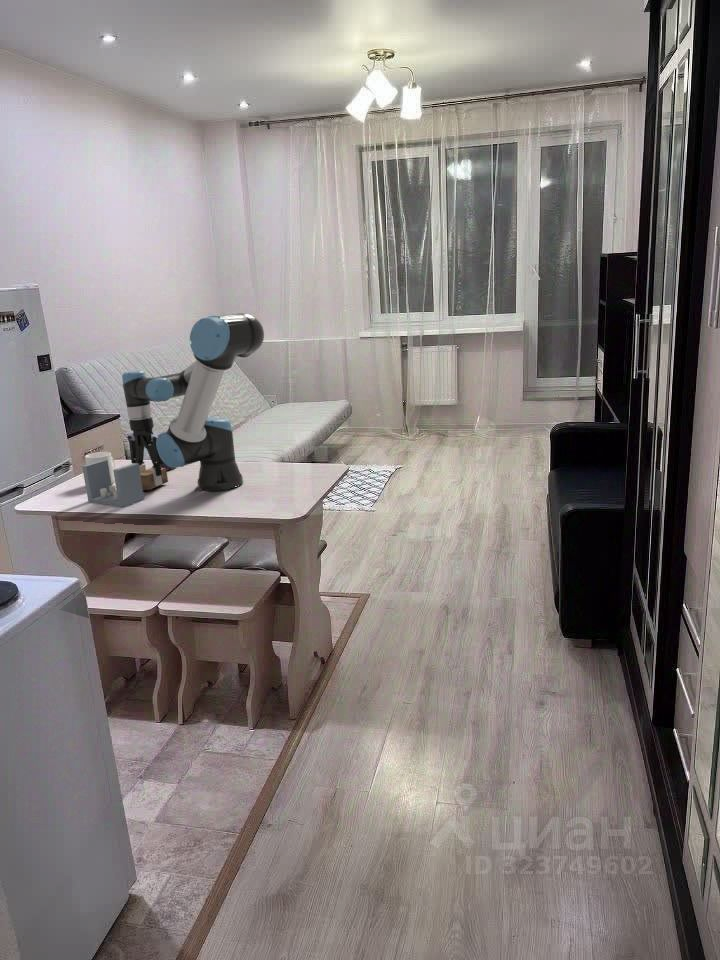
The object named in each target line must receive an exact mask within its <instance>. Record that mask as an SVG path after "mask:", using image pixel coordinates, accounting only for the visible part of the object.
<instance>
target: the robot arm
mask: <svg viewBox="0 0 720 960" xmlns="http://www.w3.org/2000/svg"><path fill="white" fill-rule="evenodd" d="M264 339H265V332H264V328H263V325H262V324H261V322H260V321H259V319H257V318H256V317H255V316H253V315H251V314H248V313H244V312H243V313H242V312H241V313H234V314H224V315H211V316H207V317H202V318H200V319H199V320H197V321H196V322H195V323H194V325H193V326H192V328H191V331H190V334H189V342H191V343H190V349H191V352H192V354H193V356H194V359H195V361H194V362H192V363H191V364H190V365H188V366H187V367H186V368H185V369H184V370H182V371H180V372H177V373H172V374H167V375H161V376H156V377H147V376H146V372H145V371H143V370H132V371H126V372H124V373H122V375H121V379H122V388H123V393H124V400H125V404H126V410H127V411H126V412H127V417H128V419H129V427H130V428H129V429H130V430H131V431H132V434H129V435H127V437H126V438H127V440H128V444H129V453H130V461H131V464H134V463H137V464H139V469H140V472H142V471H144V470H147V467H146V463H145V461H144V457H145V455H144V454H145V449H146V450H147V453H148V455H149V458H150V460H151V463H152V466H151V468H152V471H153V477H154V483H155V486H157V487H159V486H158V485H160V486H162V485H163V484H162V478H161V475H162V472H161V465H162V464H166V465H167V466H169V467H171V468H174V469H176V468H183V467H184V466H188V465H192V464H194V463H198V462H200V464H199V465H200V467H199V472H198V478H197V482H196V483H197V489H199V490H200V491H205V492H220V491H222V490H223V491H227V490H226V489H229V488H233V487H235V486H238V485H240V484H242V483H243V484H244V478H243V474H242V473H241V472H240V469H239V466H238V463H237V461H236V455H235V454H236V453H235V447H234V445H235V444H234V436H233V433H234V431H233V428H232V423H231V420H230V419H227V418H224V417H223V418H222V417H209V415H210V411H211V409H212V406H213V403H214V400H215V399H216V398H215V397H216V395H217V392H218V390H219V387H220V384H221V381H222V378H223V376H224V373H225V371H228V370H230V369H231V368H232V367H233V364H234V363H235V362H237V361H239V359H241V358H242V359H245V358H248V357H249V356H251V355H253V353H255V352H257V351H258V350H259V349H260V348H261V346H262V345H263V343H264ZM178 397H183V399H182V403H181V406H180V409H179V411H178V414H177V417H175V418H173V419H172V420H171V421H170V423H169V424H168V428H167V431H165V432H161V433H159V434H158V435H156V434H154V432H153V429H154V427H155V426H154V419H153V417H152V415H153V414H152V407H151V402H156V403H161V402H168V401H169V400H170V399H175V398H178ZM161 484H162V485H161ZM243 484H242V485H243ZM240 486H241V485H240ZM238 487H239V486H238ZM233 489H234V488H233ZM229 490H230V489H229Z"/></svg>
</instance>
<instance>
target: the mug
mask: <svg viewBox="0 0 720 960" xmlns="http://www.w3.org/2000/svg"><path fill="white" fill-rule="evenodd" d="M84 457H85V458H84V459H85V465H87V464H90V463H94V462H97V461H100V460H108V466H109V472H110V478H111V484H112V485H114V483H115V478H114V472H113V470H115V469H116V463H115V458H114V457H113V456H112V453H111V452H109V451H98V452H91V453H89V454H86V455H85V456H84Z"/></svg>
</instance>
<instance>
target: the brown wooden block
mask: <svg viewBox="0 0 720 960" xmlns="http://www.w3.org/2000/svg"><path fill="white" fill-rule="evenodd" d="M167 471H168V470H166V468H161V472H162V475H161V478H162V484H161V485H158V486H155V483H154V477H153V471H152V467H149V468H146V470H144V471H142V472H140V476H141V482H142V489H143V491H149V490H153V489H155V488H157V487H159V486H162V485H164V484H166V483H169V478H168V472H167Z"/></svg>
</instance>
